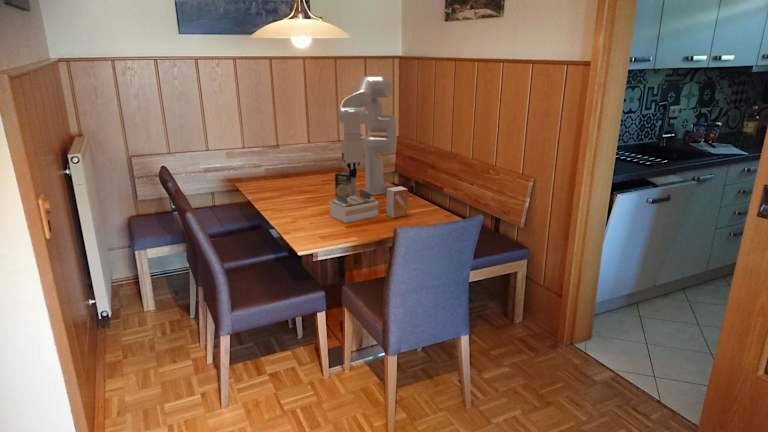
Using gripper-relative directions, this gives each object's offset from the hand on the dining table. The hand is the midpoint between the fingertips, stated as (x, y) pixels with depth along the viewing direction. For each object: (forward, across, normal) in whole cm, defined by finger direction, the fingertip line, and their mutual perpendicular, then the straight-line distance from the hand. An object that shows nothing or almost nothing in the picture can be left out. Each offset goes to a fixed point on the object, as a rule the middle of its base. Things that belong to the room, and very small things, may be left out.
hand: (353, 177), depth 235 cm
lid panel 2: (+11, -5, 0) cm, 12 cm away
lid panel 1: (+11, +4, 0) cm, 12 cm away
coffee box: (+19, -8, -20) cm, 29 cm away
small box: (+19, -18, +10) cm, 28 cm away
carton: (+19, 0, 0) cm, 19 cm away
